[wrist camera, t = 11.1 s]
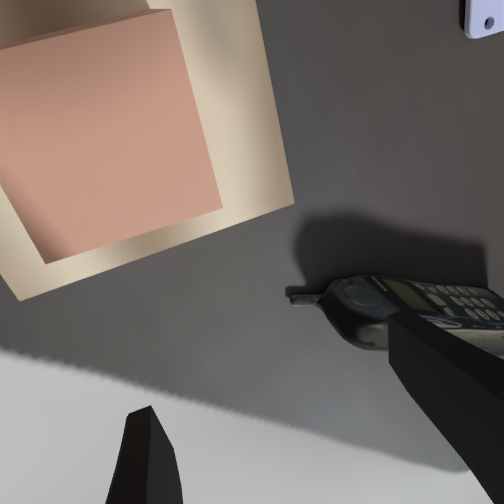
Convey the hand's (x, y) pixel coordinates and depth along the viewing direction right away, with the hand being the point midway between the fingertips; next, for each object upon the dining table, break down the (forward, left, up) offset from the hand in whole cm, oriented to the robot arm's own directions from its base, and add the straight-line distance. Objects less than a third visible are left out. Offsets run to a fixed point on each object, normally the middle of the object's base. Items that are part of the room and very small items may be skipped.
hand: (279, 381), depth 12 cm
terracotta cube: (+2, -7, -8) cm, 11 cm away
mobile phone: (-10, +9, -10) cm, 17 cm away
